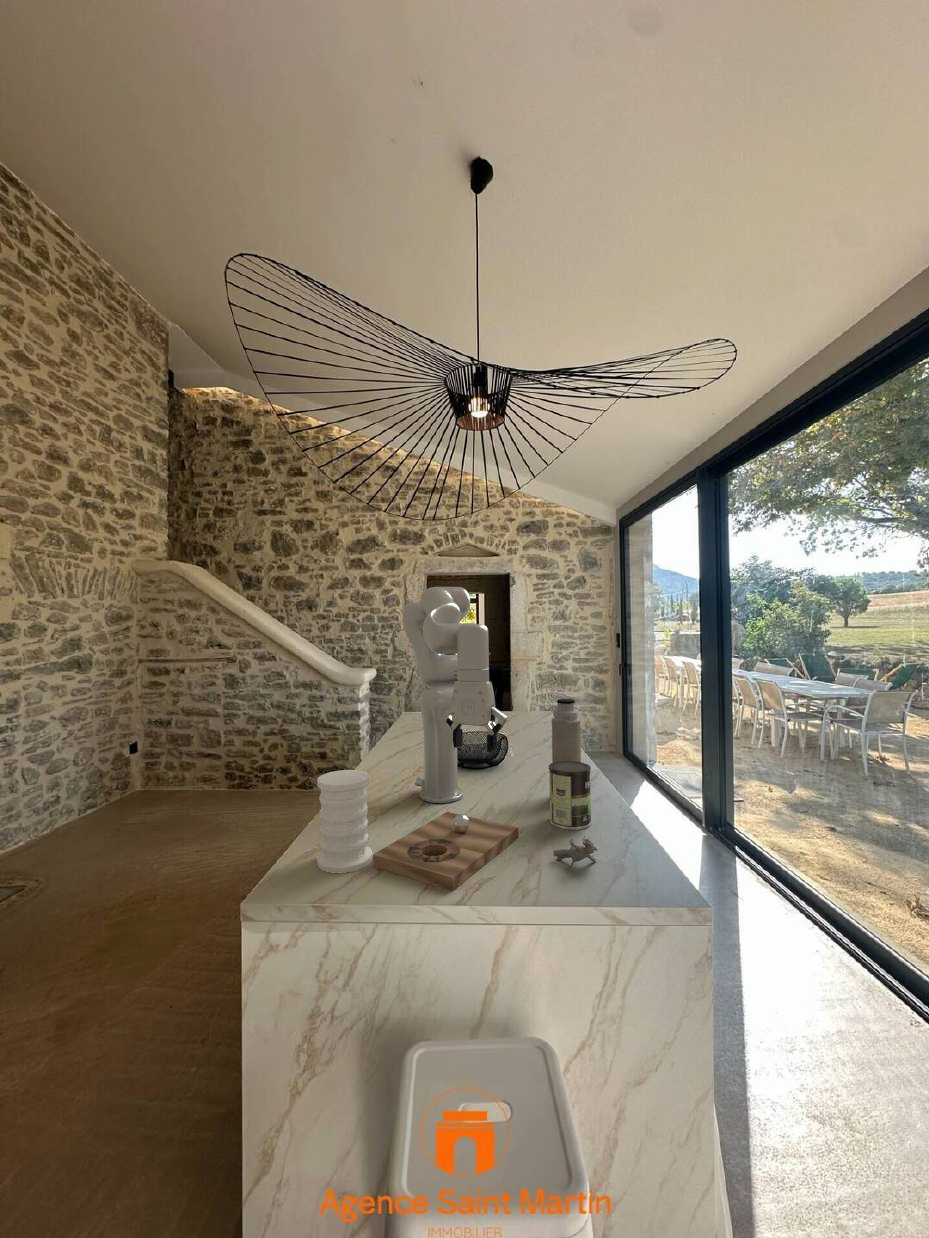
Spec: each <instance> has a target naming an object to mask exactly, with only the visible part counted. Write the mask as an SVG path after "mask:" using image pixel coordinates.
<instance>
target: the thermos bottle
mask: <svg viewBox="0 0 929 1238" xmlns="http://www.w3.org/2000/svg"><path fill="white" fill-rule="evenodd" d="M575 702H576V701H575V699H573V698H558V699H556V703H557V704H556V706H557V707H556V709H555V710H554V711H553V718H551V751H552V753H551V756H552V757H551V759H552V760H551V761H552V762H551V763H554V762H558V761H577V762H582V737H581V736H582V735H581V734H582V733H581V729H582V728H581V723H582V722H581V719H580V718H579V711H578V710H577V709H575V707H576V706H575Z"/></svg>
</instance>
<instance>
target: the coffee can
mask: <svg viewBox="0 0 929 1238" xmlns="http://www.w3.org/2000/svg"><path fill="white" fill-rule="evenodd" d="M548 770H549V773H548V774H549V823H550V824H551V825H552V826H554V827H555V828H559V829H563V830H568V831H569V830H570V831H580V830H584V829H587V828H589V827H590V826H592V816H591V815H592V810H591V807H592V806H591V804H592V803H591V802H592V801H591V800H592V799H591V766H590V764H589V763H588V764H587V763H585V762H582V761H581V762H577V761H558V762H554V763H552V762H551V763H549V765H548Z"/></svg>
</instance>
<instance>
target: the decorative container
mask: <svg viewBox="0 0 929 1238" xmlns="http://www.w3.org/2000/svg"><path fill="white" fill-rule="evenodd" d="M316 781H317V784H316V785H317V788H319V790H320V793H319V798H318V799H319V803H320V806H321V808H320V810H319V816H320V820H321V823H320V826H319V830H320V834H321V839H320V843H319V845H320V848H321V852H319V853H318V854H317V857H316V865H318V866H317V868H318V869H319V868H320V869H321V870H320V869H319V870H320V871H322V870H323V871H322V872H324V871H328V872H333V873H332V874H335V873H339V872H340V873H341V874H347V873H346V872H350V873H353V872H352V871H354V872H357V871H360V870H362V869H364V868H366V867H367V866H369V865H370V864H371V863H372V862H373V850H372V849H371V848H370V846H368V844H369V833H368V827H369V820H368V818H367V815H368V813H369V807H368V803H367V800H368V797H369V796H368V795H369V793H368V790H367V786H368V784H369V783H370V774H369V773H368V772H367V771H363V770H358V769H343V770H335V771H330V772H327V773H323V774H322V775H319V776H318V778H317V779H316ZM328 872H327V873H328ZM334 872H335V873H334ZM344 872H345V873H344Z"/></svg>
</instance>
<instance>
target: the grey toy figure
mask: <svg viewBox="0 0 929 1238" xmlns="http://www.w3.org/2000/svg"><path fill="white" fill-rule="evenodd" d="M585 837H586V835H583V837H582V845H580V844H576V843H574V840H573V838H571V839H569V844H570V847H569V849H568V848H563V849H562V848H561V849H553V850H552V853H553V857H556V859H557V860H559V861H560V860H564V859H570V858H571V863H570V865H569V868H568V869H570V868H571V867H572V866H573V865H574V863H576V862H580V861H583V860H584V859H586V858H587V859H589V860H590V861H591V862H592V863H595V864H596V863H597V859H596V858H594V853H595V851H596V852H598V848H597V847H596V846H595V845H594V842H593V841H592V840H591V839H589V838H585ZM591 854H592V855H591Z"/></svg>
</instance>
